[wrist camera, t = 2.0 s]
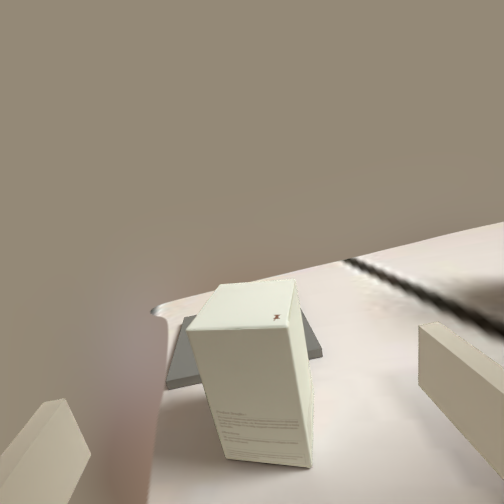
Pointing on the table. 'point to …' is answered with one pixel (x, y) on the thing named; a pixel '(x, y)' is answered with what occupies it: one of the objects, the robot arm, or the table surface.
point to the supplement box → (256, 371)
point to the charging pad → (185, 364)
